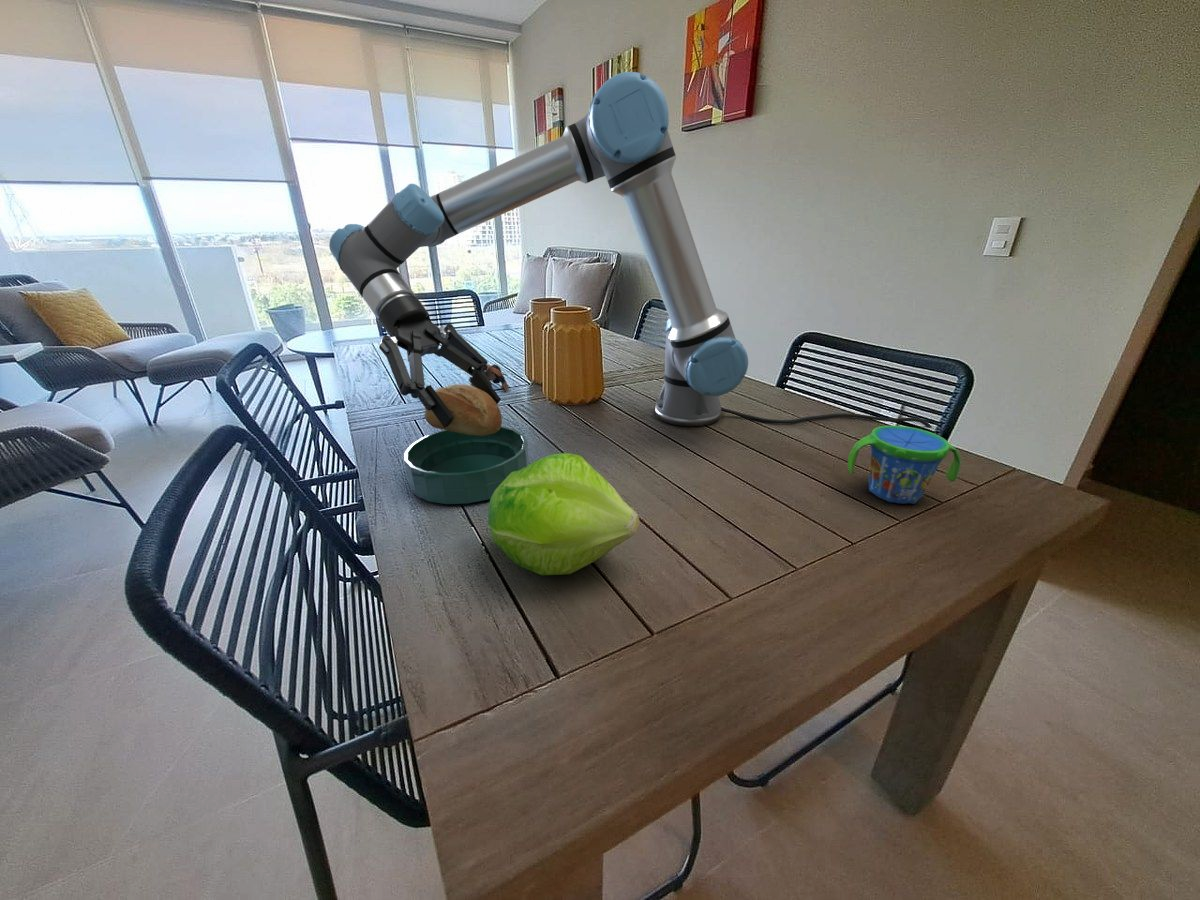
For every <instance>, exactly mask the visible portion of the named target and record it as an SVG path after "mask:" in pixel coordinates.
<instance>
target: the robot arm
mask: <svg viewBox="0 0 1200 900" xmlns="http://www.w3.org/2000/svg"><path fill="white" fill-rule="evenodd" d="M669 115H670V114H669V106H668V102H667V100H666V97H665V94H664V92H663V90H662V89H661V87H660V86H659V84H657V83H656V81H655V80H653V79H652V78H650V77H649V76H647V75H645V74H643V73H640V72H637V71H623V72H619V73H617V74H615V75H613V76H612V77H610V78H608V79H607V80H606V81H605V82H604V83H603V84H602V85H601V86H600V88H598V90H597V91H596V92H595V94H594V95H593V97H592V99H591V102H590V105H589V109H588V113H587V114H585V116H583V117H582V118H580V119H578V121H575V122H573V123H572V124H569V125H567V126H566V127H565V129H564V131H563V134H562V136H560V137H557V138H556V139H553V140H551V141H548V142H546V143H545V144H543V145H540V146H538V147H536V148H534V149H531V150H529V151H527V152H525V153H522V154H520V155H519V156H516V157H514V158H512V159H510V160H508V161H505V162H503V163H500V164H498V165H497V166H494V167H492V168H490V169H488V170H485V171H483V172H481V173H479V174H477V175H475V176H472V177H471V178H468V179H466V180H463V181H461V182H460V183H457V184H455V185H453V186H451V187H449V188H446V189H445V190H442V191H440V192H438V193H436V194H433V195H431V196H430V195H429V194H428V193H427V192H426V191H425V190H424V189H423V188H421V187H420V186H419V185H418V184H416V183H408V184H407V185H406V186H404V188H403V189H401V190H400V191H399V192H396V193H395V194H394V195H393V198H392V199H391V200H390V201H389V202H388V203H387V204H386V205H385V207H383V208H382V209H381V210H380V212H378V213H377V215H376V216H375V217H374V218H373V219H372V220H371V221H370V222H369V223H368V224H366V226H363V225H362V224H358V223H347V224H345V225H344V226H343V228H337V229H336V230H335V231H333V233H332V234H331V236H330V238H329V242H328V247H329V251H330V254H331V255H332V257H333V258H334V260H335V261H336V263H337V265H338V267H339V270H340V271H341V272H342V273H343V274H344V275H345V276H346V277H347V279H348V280H349V281H350V283H351V284H352V285H353V287H354V288H355V290H356V291H357V292H358V294H359V295H360V296H361V298H362V300H363V301H364V302H365V304H366V305H367V306H368V308H369V309H370V310H371V312H372V313H373V315H374V316H375V317H376V319H378V321H379V323H380V324H381V326H382V328H383V329H384V330H385V331H386V333H387V334H388V335H383V336H382V339H381V341H380V344H379V346H378V348H379V350H380V351H381V353H382V354H383V355H384V356H385V357H386V359H387V362H388V363H389V364H388V365H389V367H390V369H391V372H392V374H393V377H394V380H395V383H396V386H397V388H398V390H399V393H400V394H401V395H402V396H408V395H410V396H411V398H412V399H419V402H420V403H421V404H422V406H423V407H424V409H425V408H426V409H427V410H428V411H429V410H432V412H433V413H434V414H435V416H436V417H437V419H438V420H439V421H440V423H441V424H442V425H443V427H444V428H445V427H448V426H449V424H450V423H451V421H452V420H453V419H454V417H453V415H452V414H451V412H450V411H449V410H448V408H447V407H446V406H445V404H444V403H443V401H442V400H441V399H440V397H439V396H438V394H437V393H436V392H435V390H436V389H434V387H433V386H432V385H431V384H429V385H426V384H425V383H426V382H425V376H424V375H425V374H424V366H423V358H422V357H425V355H433V354H434V355H435V356H436V357H438V358H440V357H442V358H444V359H445V360H446V361H448V362H449V363H451V364H452V365H454V366H456V367H457V368H459V369H460V370H462V371H463V372H464V373H466V374H468V375H469V376H470V377H472V378H471V379H470V380H471V382H472V383H473V385H474V386H475V387H476V388H478V389H480V390H482V391H484V392H486V393H487V394H488V395H490V396H491V397H492V398H493V400H494V401H495V402H496V404H497V405H498V404H499V403H500V401H502V399H501V396H499V394H498V393H497V391H496V390H495V389H494V387H493V382H492V381H491V380H489V378H488V377H487V376H486V374H485V373H484V371H483V369H484V368H485V366H486V365H487V364H489V361H488V360H487V359H486V358H485V357H484V356H483V355H482V354H481V353H480V352H479V351H478V350H476V349H475V348H474V347H473V346H472V345H471V344H470V343H469V341H467V340H466V339H465V338H464V337H463V336H461V335H460V333H458V331H457V330H456V328H455V327H454V325H453V324H452V323H451V322H447V323H446V325H445V326H437V325H436V324H435V323H433V321H432V320H431V317H430V313H429V312H428V310H427V309H426V307H425V306H424V305H423V303H422V302H421V300H420V299H419V298H418V297H417V296H416V293H415V292H414V291H413V289H412V288H411V287H410V285H409V284H408V283H407V282H406V280H405V279H404V277H403V276H402V274H400V272H399V270H398V268H399V267H400V266H401V265H402V264H404V263H405V262H406V260H408V258H409V257H410V256H412V255H413V254H414V253H415V252H416V251H417V250H418V249H419V248H424V247H428V248H429V247H430V248H432V247H436V246H439V245H441V244H443V243H445V241H447V240H449V239H451V238H453V237H456V236H457V235H460V234H461V233H464V232H466V231H469V230H470V229H473V228H474V227H478V226H479V225H481V224H483V223H487V222H488V221H491V220H492V219H495V218H497V217H499V216H502V215H504V214H506V213H509V212H511V211H512V210H513V211H514V210H516V209H518V208H520V207H522V206H524V205H527V204H529V203H531V202H533V201H535V200H538V199H540V198H542V197H544V196H546V195H549V194H551V193H553V192H557V190H560V189H563V188H565V187H567V186H569V185H571V184H573V183H576V182H581V183H582V184H584V185H586V184H589V183H591V182H593V181H596V180H599V179H600V178H603V177H605V179H606V181H607V184H608V187H609V190H611V192H612V193H615V194H616V195H620V196H621V197H622V198H623V200H624V203H625V205H626V207H627V208H626V209H627V210H628V213H629V215H630V218H631V221H632V224H633V226H634V229H635V231H636V234H637V237H638V240H639V242H640V244H641V247H642V249H643V252H644V255H645V257H646V260H647V263H648V266H649V268H650V270H651V271H650V272H651V273H652V276H653V278H654V281H655V284H656V286H657V288H658V291H659V294H660V297H661V300H662V303H663V305H664V308H665V310H666V312H667V313H666V314H667V315H668V319H667V321H666V326H665V349H664V350H665V352H664V377H663V379H664V380H663V385H662V387H661V390H660V393H659V396H658V397H655V407H654V408H655V412H654V413H655V416H656V418H657V419H658V420H660V421H661V422H664V423H666V424H670V425H674V426H679V427H702V426H703V427H704V426H708V425H712V424H714V423H717V422H718V421H720V420H721V418H722V412H723V413H726V414H730V415H734V416H737V417H741V418H745V419H748V420H749V419H750V420H753V421H757V422H762V423H769V424H779V425H780V424H783V425H784V424H785V425H787V424H797V423H802V422H807V421H814V420H822V419H831V418H857V419H865V420H872V421H878V422H888V423H900V422H901V423H902V422H916V423H920V424H922V425H923V426H925V427H926V428H929V429H932V428H933V427H932V425H931V424H930V423H929V422H928V421H926V420H924V419H922V418H920V417H896V418H895V417H882V416H875V415H867V414H861V413H846V412H845V413H844V412H841V413H825V414H818V415H811V416H804V417H800V418H792V419H772V418H764V417H759V416H755V415H751V414H746V413H743V412H739V411H735V410H732V409H729V408H725V407H722V405H721V401H720V396H724V395H726V394H728V393H730V392H732V391H734V390H735V389H736V388H737V387H738V386H739V385H740V384H741V383H742V382H743V379H744V378H745V376H746V374H747V371H748V368H749V356H748V352H747V350H746V348H745V347H744V345H743V343H742V342H740V341H739V340H738V339H736V336H735V333H734V329H733V326H732V324H731V320H730V318H729V314H728V313H727V312H726V311H724V310H722V309H719V308H718V307H717V305H716V302H715V300H714V297H713V294H712V291H711V288H710V285H709V281H708V279H707V276H706V273H705V270H704V266H703V264H702V260H701V258H700V254H699V252H698V249H697V246H696V243H695V240H694V238H693V234H692V231H691V228H690V225H689V221H688V219H687V216H686V213H685V210H684V207H683V204H682V201H681V199H680V195H679V192H678V189H677V186H676V183H675V180H674V177H673V175H672V172H673V169H674V165H675V163H676V161H677V160H676V159H677V155H676V152H675V149H674V145H673V142H672V140H671V136H670V133H669V130H668V129H669V123H670V120H669V119H670V118H669ZM440 345H441V346H440ZM439 347H440V348H439ZM400 348H401V349H402V350H405V351H406V356H407V362H408V366H409V371H408V368H407V367H406V366H407V365H406V363H405V360H404V358H403V355H402V353H401V351H400Z"/></svg>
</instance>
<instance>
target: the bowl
mask: <svg viewBox="0 0 1200 900" xmlns="http://www.w3.org/2000/svg"><path fill="white" fill-rule="evenodd" d="M529 458H530V457H529V447H528V440H527V439H526V437H525V435H524V434H523V433H521V432H520V431H518V430H516V429H514V428H511V427H507V426H504V425H501V428H500V430H499V431H498V432H496V433H494V434H490V435H485V436H476V435H466V434H462V433H457V432H453V431H448V430H443V429H441V430H438V431H434V432H433V433H430V434H428V435H425V436H423V437H420V438H419V439H418V440H416V441H414V442H413V443H411V444H410V445H409V446H408V447H407V449H406V450H405V451H404V455H403V461H404V467H405V470H406V475H407V480H408V485H409V490H411V492H413V493H414V494H415V495H416V497H418V498H420V499H423V500H425V501H427V502H430V503H435V504H436V503H437V504H444V505H458V504H459V505H460V504H461V505H463V504H472V503H477V502H482V501H488V500H491V497H492V495H493V493H494V491H495V490H496V489H497V487H498V486H499V485H500V484H501V483H502V482H503V481H504V480H505V479H506V478H507V477H508V476H509V475H510V474H511V473H512V472H513V471H517V470H521V469H522V468H524V467H526V466H528V465H529V464H530V459H529Z"/></svg>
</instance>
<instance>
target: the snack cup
mask: <svg viewBox="0 0 1200 900" xmlns="http://www.w3.org/2000/svg"><path fill="white" fill-rule="evenodd" d="M867 446H870V460H869V473H868V474H869V475H868V491H869V492H870V493H872V494H873V495H875V496H876V497H878V498H879V499H881V500H884V501H886V502H888V503H895V504H903V505H904V504H905V505H907V504H912V505H915V504H916V503H917V502H918V501H920V500H921V499H922V498H923V496H924V494H925V492H926V491H927V489H928V487H929V485H930V483H931V481H932V479H933V477H934V475H935V473H936V472H937V470H938V467H939V465H940V463H941V462H942V461H943V460H944V459H945V458H946V457H947V455H948V454H949V451H951V452H952V453H953V460H952V461H951V464H950V465H949V468H948V469H947V471H946V473H945V477H946V479H947V480H948V481H949V482H955V481H956V480H957V478H958V477H959V475H960V471H961V465H962V458H961V454H960V452H959V450H958V449H957V448H955V446H954V445H952V443H951V444H950V443H949V441H948V440H947V439H946V438H944V437H942V436H940V434H939V435H938V434H936V433H934V432H931V431H928V430H924V429H921V428H917V427H912V426H905V425H881V426H877V427H875V428H873V429H872V431H871V432H870V433H869V434H868V435H866V436H863V437H862V438H860V439H859V440H858V441H856V443H855V444H854V445H853V446H852V448H851V449H850V451H849V454H848V456H847V469H848V472H849V473H850V474H851V475H853V474H854V473H855V472H854V471H855V470H854V467H855V465H856V461H857V458H858V455H859V452H860V450H862V449H863V448H865V447H867Z"/></svg>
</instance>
